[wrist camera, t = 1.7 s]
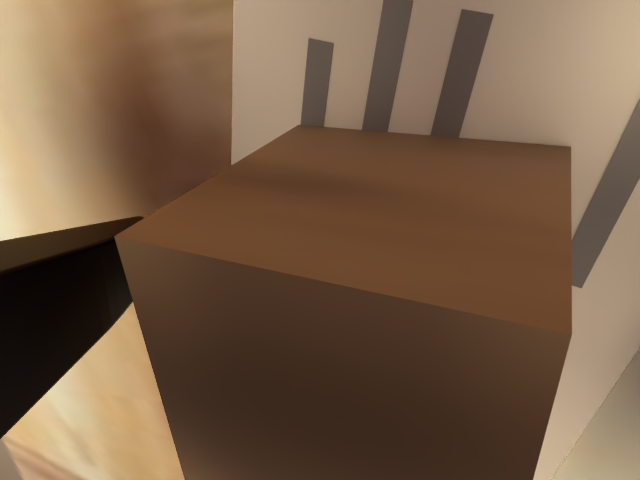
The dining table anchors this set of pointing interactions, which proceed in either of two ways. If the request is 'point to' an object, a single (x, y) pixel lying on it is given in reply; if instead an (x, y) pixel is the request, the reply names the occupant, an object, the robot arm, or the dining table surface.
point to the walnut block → (360, 307)
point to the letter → (479, 127)
